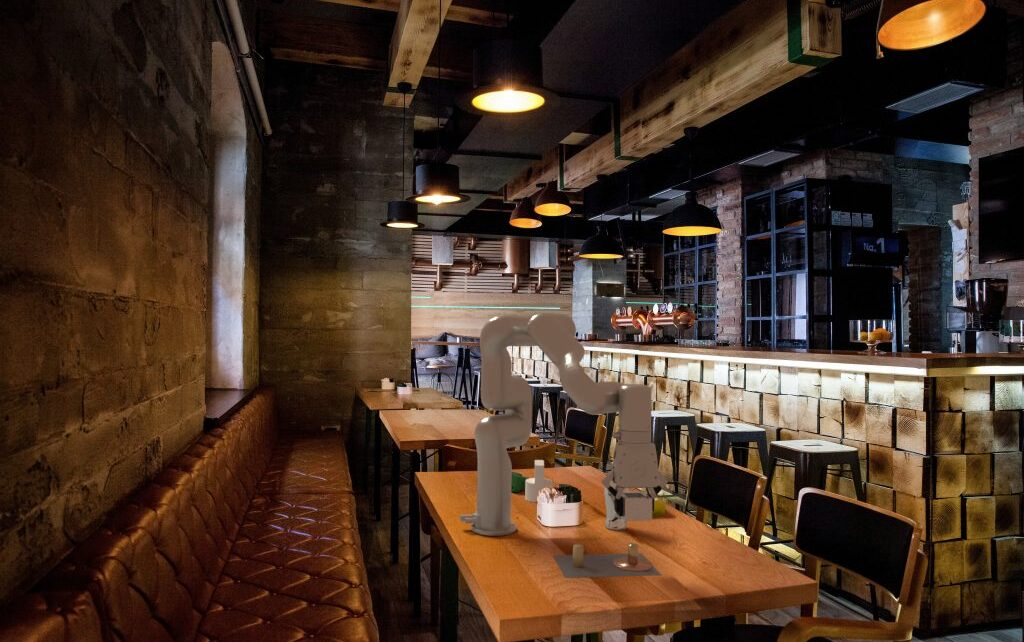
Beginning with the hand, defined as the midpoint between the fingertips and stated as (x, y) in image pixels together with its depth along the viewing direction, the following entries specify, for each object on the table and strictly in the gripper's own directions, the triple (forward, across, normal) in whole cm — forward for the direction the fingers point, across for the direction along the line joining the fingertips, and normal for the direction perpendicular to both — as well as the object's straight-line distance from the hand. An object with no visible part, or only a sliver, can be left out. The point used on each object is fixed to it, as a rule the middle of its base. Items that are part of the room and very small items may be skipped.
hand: (634, 513), depth 150 cm
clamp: (+13, -18, +79) cm, 82 cm away
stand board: (+13, -7, 0) cm, 15 cm away
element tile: (+14, +17, +51) cm, 55 cm away
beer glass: (+13, +5, +33) cm, 36 cm away
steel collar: (+1, 0, 0) cm, 1 cm away
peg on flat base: (+12, 0, 0) cm, 12 cm away
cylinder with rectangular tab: (+13, -12, +65) cm, 68 cm away
